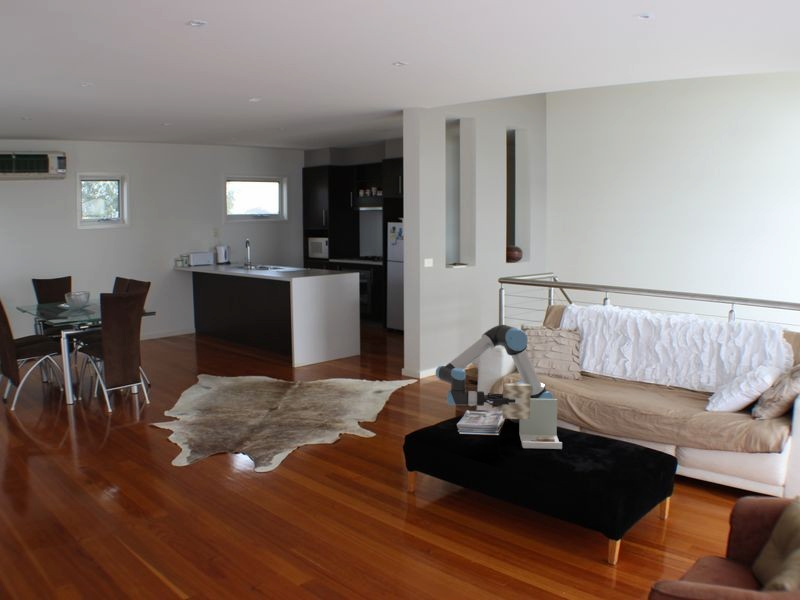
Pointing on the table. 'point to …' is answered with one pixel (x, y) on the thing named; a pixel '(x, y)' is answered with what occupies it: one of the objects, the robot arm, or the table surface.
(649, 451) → the table surface
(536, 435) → the tray with upright backboard
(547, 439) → the offcut slab top
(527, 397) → the beige zigzag-marked block
